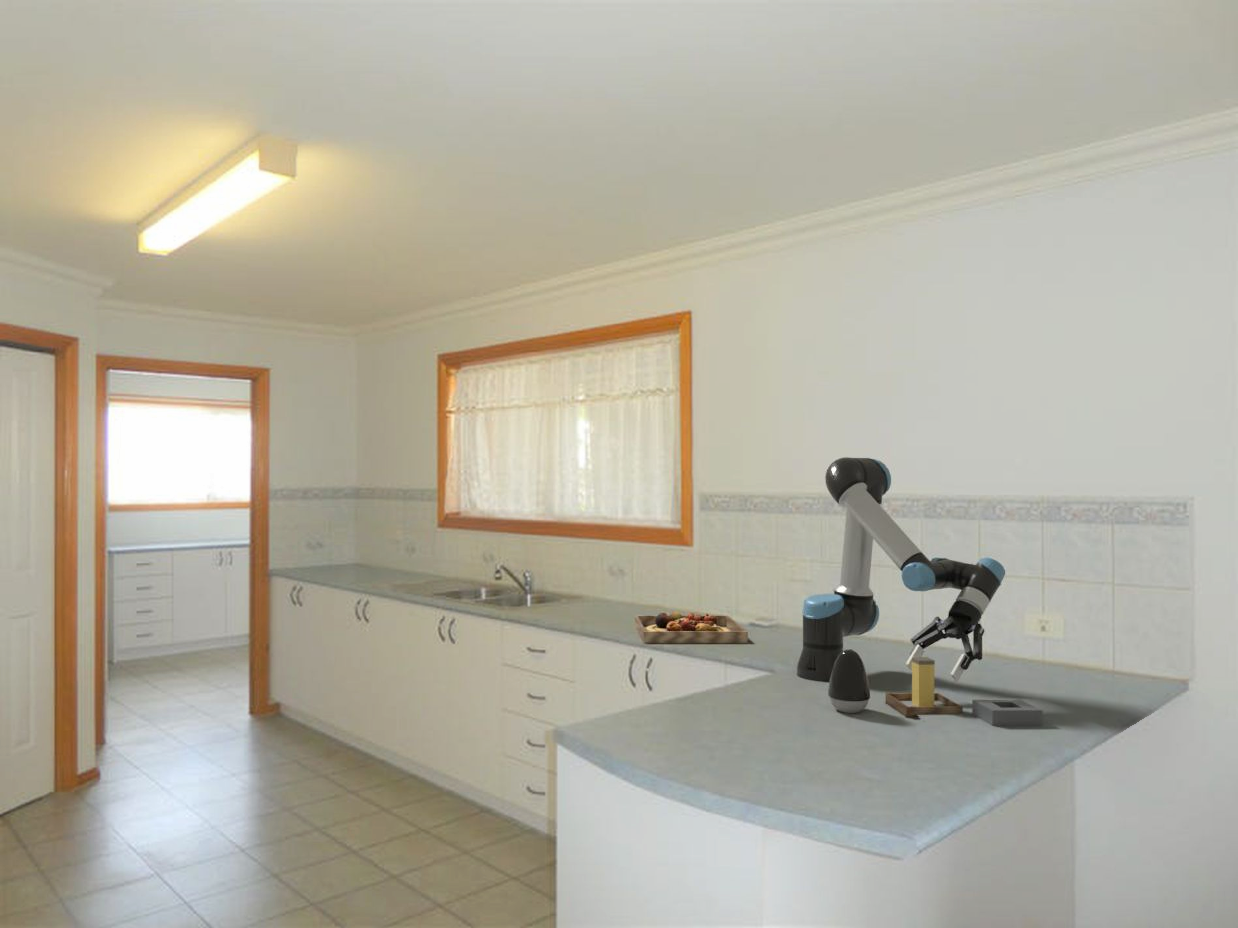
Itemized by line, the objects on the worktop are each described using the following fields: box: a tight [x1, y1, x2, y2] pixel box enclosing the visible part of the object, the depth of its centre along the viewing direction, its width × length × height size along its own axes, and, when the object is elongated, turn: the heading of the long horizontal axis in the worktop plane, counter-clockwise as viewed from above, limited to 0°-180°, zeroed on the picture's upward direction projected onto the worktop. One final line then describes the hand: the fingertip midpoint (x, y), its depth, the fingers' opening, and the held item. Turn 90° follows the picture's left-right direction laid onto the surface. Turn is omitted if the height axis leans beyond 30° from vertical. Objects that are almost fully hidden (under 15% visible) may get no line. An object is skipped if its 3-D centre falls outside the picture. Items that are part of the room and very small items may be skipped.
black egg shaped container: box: [827, 649, 871, 714], centre depth 220 cm, size 10×10×15 cm
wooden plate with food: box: [645, 610, 731, 631], centre depth 327 cm, size 32×32×8 cm
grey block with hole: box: [971, 699, 1043, 727], centre depth 209 cm, size 12×10×4 cm
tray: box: [885, 692, 964, 718], centre depth 221 cm, size 14×14×2 cm
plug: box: [911, 656, 936, 707], centre depth 222 cm, size 4×4×12 cm
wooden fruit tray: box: [634, 614, 749, 644], centre depth 327 cm, size 37×37×4 cm
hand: (930, 672), depth 223 cm, fingers open, 13 cm apart
